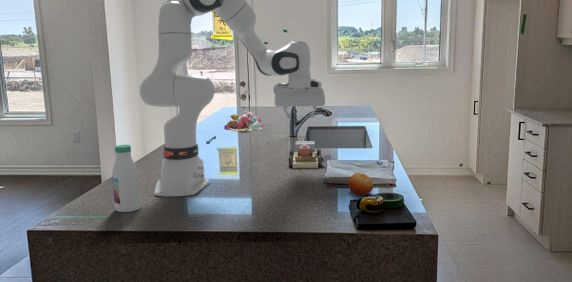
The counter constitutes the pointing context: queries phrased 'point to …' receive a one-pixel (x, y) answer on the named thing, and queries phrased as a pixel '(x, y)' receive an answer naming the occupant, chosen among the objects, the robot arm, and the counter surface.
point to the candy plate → (244, 122)
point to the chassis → (305, 161)
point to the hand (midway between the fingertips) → (300, 117)
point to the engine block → (304, 150)
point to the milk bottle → (125, 181)
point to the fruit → (360, 184)
